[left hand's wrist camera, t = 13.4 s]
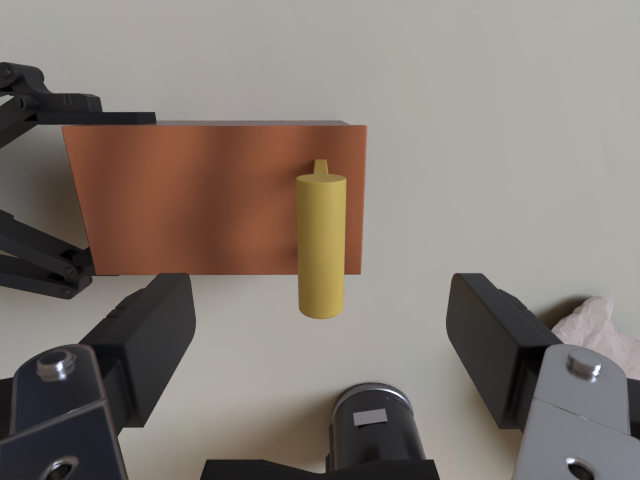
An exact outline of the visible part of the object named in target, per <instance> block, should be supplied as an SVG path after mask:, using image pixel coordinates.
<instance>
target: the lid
mask: <svg viewBox="0 0 640 480" xmlns="http://www.w3.org/2000/svg"><path fill="white" fill-rule="evenodd" d="M62 132H63V136H64V141H65V145H66V149H67V153H68V158H69V162H70V166H71V170H72V174H73V179H74V183H75V187H76V191H77V196H78V200H79V204H80V208H81V213H82V217H83V221H84V225H85V230H86V234H87V238H88V242H89V246H90V251H91V255H92V259H93V263H94V268H95V272H96V275H158V274H160V273H187V274H188V275H298V291H299V310H300V311H301V313H302V314H304V315H305V316H308V317H310V318H315V319H327V318H332V317H335V316H337V315H338V314H340V313H341V312H342V310H343V300H344V274H361V260H362V236H363V212H364V188H365V164H366V140H367V126H365V125H87V126H62Z"/></svg>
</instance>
